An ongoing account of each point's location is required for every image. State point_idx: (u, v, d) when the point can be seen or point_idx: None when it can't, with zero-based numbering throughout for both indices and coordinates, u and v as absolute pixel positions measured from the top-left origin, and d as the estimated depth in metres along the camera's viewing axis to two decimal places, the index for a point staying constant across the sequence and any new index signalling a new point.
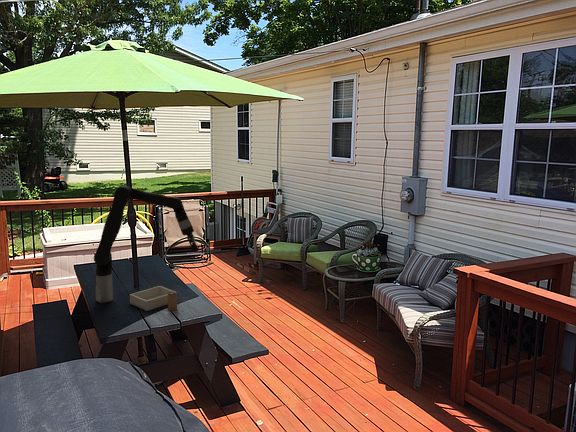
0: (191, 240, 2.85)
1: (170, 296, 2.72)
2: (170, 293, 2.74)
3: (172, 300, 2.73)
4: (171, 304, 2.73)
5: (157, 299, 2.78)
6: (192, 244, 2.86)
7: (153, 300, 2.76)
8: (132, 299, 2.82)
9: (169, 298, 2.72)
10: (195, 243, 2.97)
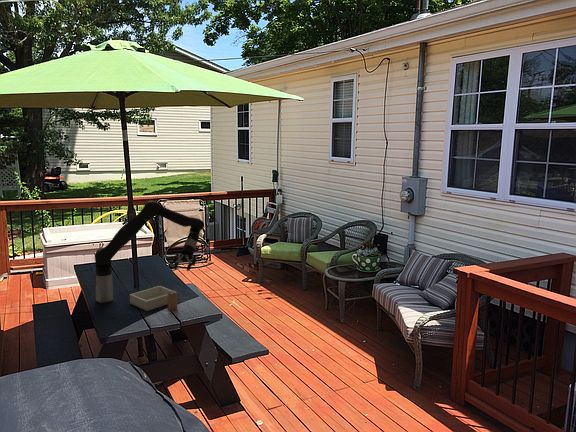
0: (195, 260, 2.86)
1: (170, 296, 2.72)
2: (170, 293, 2.74)
3: (172, 300, 2.73)
4: (171, 304, 2.73)
5: (157, 299, 2.78)
6: (194, 263, 2.85)
7: (153, 300, 2.76)
8: (132, 299, 2.82)
9: (169, 298, 2.72)
10: (177, 265, 2.87)
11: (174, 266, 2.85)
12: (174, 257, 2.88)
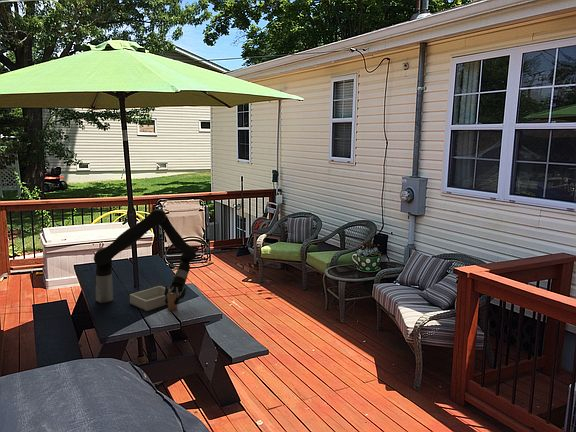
0: (185, 293, 2.77)
1: (170, 296, 2.72)
2: (170, 293, 2.74)
3: (172, 300, 2.73)
4: (171, 304, 2.73)
5: (157, 299, 2.78)
6: (182, 296, 2.75)
7: (153, 300, 2.76)
8: (132, 299, 2.82)
9: (169, 298, 2.72)
10: None
11: (165, 300, 2.75)
12: None
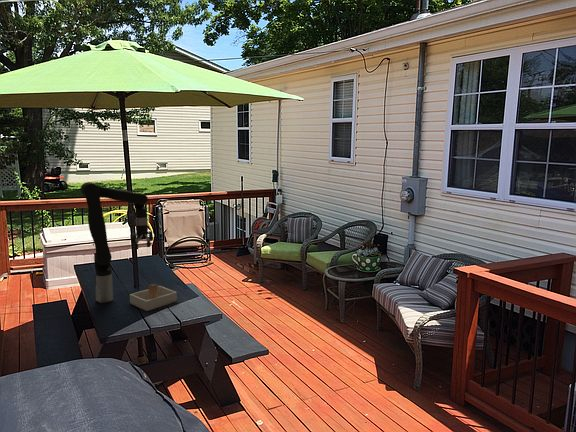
0: None
1: (151, 288, 2.83)
2: (151, 285, 2.85)
3: (153, 292, 2.83)
4: (152, 296, 2.84)
5: (157, 299, 2.78)
6: None
7: (153, 300, 2.76)
8: (132, 299, 2.82)
9: (150, 290, 2.83)
10: None
11: (136, 247, 2.96)
12: (133, 238, 2.93)
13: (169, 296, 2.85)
